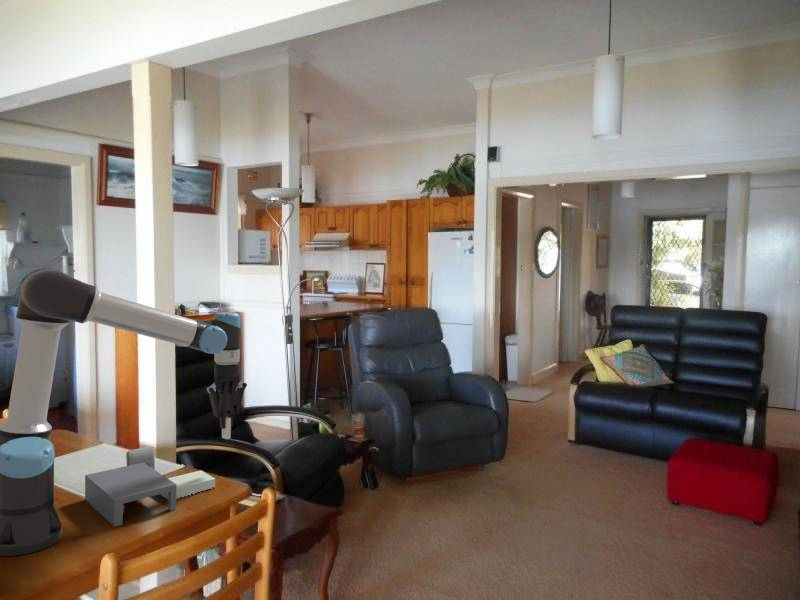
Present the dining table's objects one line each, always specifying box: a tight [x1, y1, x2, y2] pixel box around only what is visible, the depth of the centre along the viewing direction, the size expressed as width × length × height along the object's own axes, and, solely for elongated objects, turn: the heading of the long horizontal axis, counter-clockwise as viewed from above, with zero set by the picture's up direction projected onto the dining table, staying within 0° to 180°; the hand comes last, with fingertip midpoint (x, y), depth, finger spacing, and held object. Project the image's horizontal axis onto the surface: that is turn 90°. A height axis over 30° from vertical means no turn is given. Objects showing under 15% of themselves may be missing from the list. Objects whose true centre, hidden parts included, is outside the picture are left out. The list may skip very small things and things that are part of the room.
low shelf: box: [84, 463, 177, 528], centre depth 159 cm, size 16×22×7 cm
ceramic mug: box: [125, 445, 156, 471], centre depth 182 cm, size 11×8×8 cm
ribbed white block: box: [159, 469, 216, 501], centre depth 171 cm, size 14×9×3 cm, turn 136°
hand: (226, 437), depth 179 cm, fingers closed
